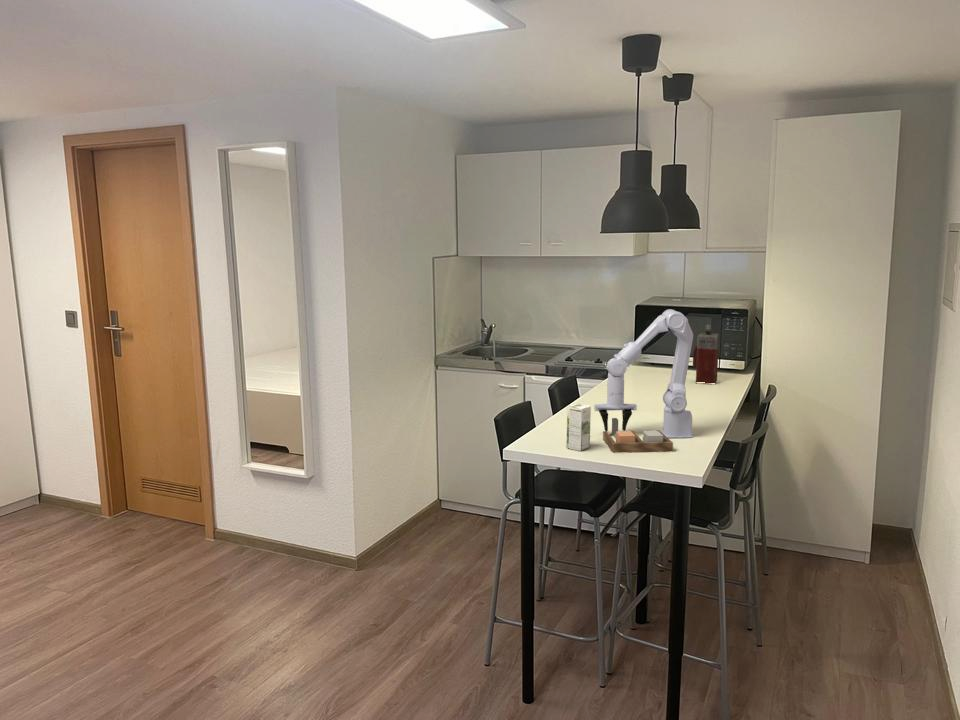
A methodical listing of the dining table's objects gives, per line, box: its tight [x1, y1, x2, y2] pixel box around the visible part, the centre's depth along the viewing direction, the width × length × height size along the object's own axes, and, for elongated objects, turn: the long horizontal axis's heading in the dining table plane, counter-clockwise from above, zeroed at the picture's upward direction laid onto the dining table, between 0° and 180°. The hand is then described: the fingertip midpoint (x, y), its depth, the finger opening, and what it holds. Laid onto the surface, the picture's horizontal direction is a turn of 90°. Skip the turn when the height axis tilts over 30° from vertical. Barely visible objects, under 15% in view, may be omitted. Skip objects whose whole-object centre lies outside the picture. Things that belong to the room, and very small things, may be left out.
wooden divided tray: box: [602, 429, 674, 453], centre depth 245 cm, size 20×16×3 cm
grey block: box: [642, 430, 663, 442], centre depth 242 cm, size 5×6×5 cm
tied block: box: [611, 417, 635, 443], centre depth 249 cm, size 5×20×6 cm, turn 2°
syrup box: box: [566, 403, 592, 452], centre depth 241 cm, size 6×6×14 cm
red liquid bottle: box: [692, 324, 720, 384], centre depth 351 cm, size 9×11×28 cm
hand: (615, 430), depth 257 cm, fingers open, 6 cm apart
